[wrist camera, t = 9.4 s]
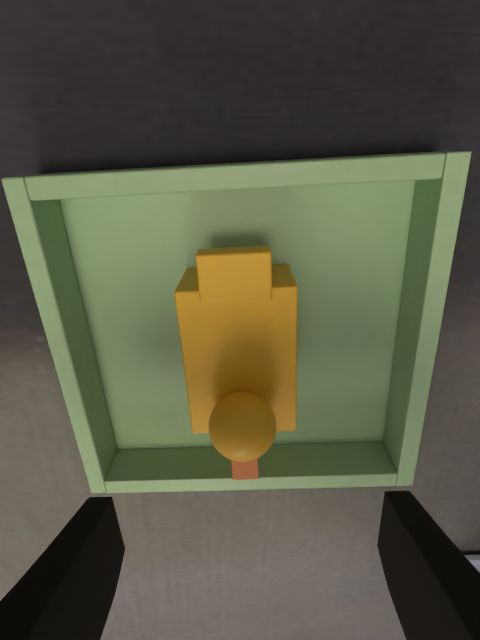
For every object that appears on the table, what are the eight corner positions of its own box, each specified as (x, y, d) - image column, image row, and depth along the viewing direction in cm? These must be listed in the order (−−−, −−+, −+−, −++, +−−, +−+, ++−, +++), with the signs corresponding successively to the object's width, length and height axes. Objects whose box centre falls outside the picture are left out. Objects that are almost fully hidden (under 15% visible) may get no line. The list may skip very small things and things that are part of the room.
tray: (434, 151, 15) (472, 151, 12) (392, 445, 21) (412, 485, 18) (39, 173, 15) (-1, 177, 13) (108, 454, 21) (90, 494, 19)
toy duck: (182, 237, 16) (153, 275, 11) (289, 232, 16) (308, 268, 11) (202, 417, 19) (188, 506, 15) (289, 415, 19) (303, 503, 14)
